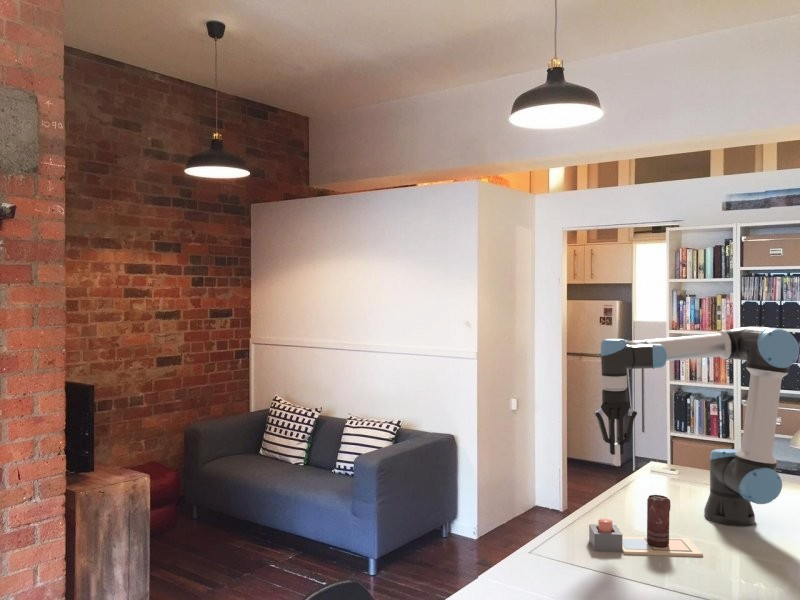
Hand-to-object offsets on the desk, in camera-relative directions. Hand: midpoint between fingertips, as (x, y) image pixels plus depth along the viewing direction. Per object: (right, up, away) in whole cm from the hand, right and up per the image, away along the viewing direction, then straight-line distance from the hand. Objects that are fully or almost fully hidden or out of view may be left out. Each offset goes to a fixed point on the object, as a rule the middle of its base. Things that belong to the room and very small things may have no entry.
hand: (616, 464), depth 206 cm
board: (+9, -22, -9) cm, 26 cm away
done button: (-6, -19, -8) cm, 22 cm away
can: (+9, -22, -9) cm, 25 cm away
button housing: (-6, -22, -7) cm, 24 cm away
